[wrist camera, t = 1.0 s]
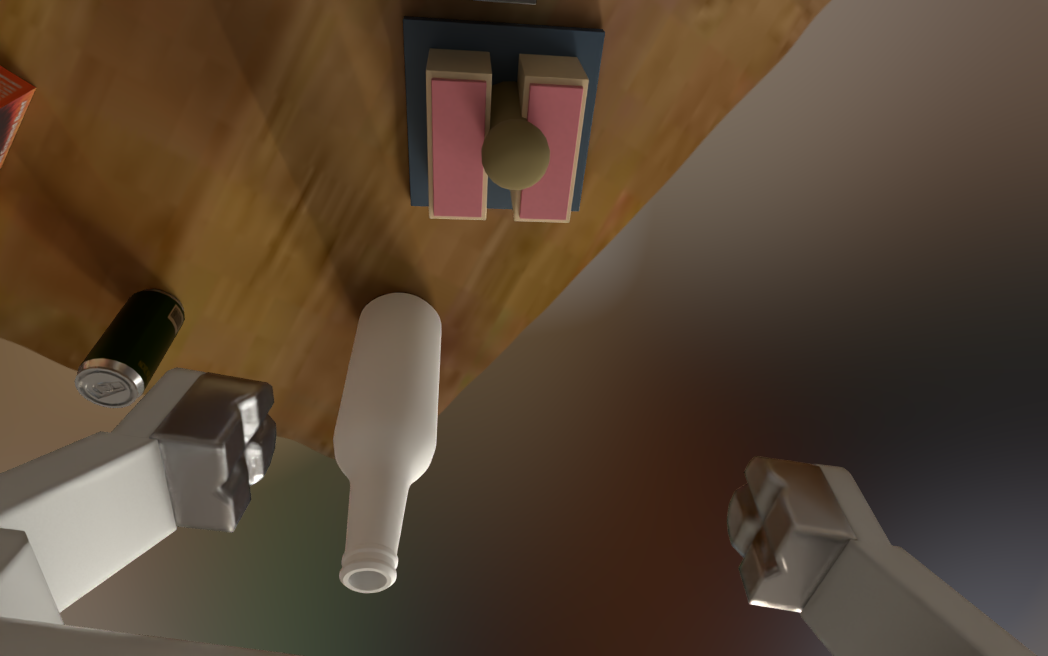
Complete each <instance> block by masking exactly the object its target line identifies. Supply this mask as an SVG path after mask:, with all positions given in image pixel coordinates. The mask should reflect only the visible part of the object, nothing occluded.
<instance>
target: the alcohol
mask: <svg viewBox="0 0 1048 656" xmlns="http://www.w3.org/2000/svg"><path fill="white" fill-rule="evenodd" d="M440 349H441V321H440V317H439V316H438V314H437V312H436V311H435V310H434V308H433V307H432V306H431V305H429V304H428V303H427V302H426V301H424V300H423V299H421V298H419V297H417V296H415V295H412V294H407V293H390V294H386V295H383V296H380V297H378V298H376V299H374V300H372V301H371V302H370V303H368V304H367V305H366V306H365V308H364V309H363V310H362V312H361V315H360V318H359V322H358V327H357V331H356V336H355V341H354V345H353V350H352V354H351V359H350V363H349V368H348V373H347V377H346V382H345V386H344V391H343V396H342V400H341V405H340V409H339V414H338V418H337V423H336V428H335V432H334V439H333V442H334V451H335V458H336V462H337V463H338V466H339V467H340V469H341V470H342V472H343V473H344V474H345V475H346V477H347V478H348V479H349V480H350V497H349V509H348V522H347V535H346V548H345V553H344V554H343V556H342V562H341V563H342V569H341V570H340V574H339V577H340V581H341V582H342V583H343V584H344V585H345V586H346V587H348V588H349V589H351V590H353V591H357V592H361V593H374V592H379V591H382V590H384V589H386V588H388V587H389V586H391V585H392V584H393V583H394V582H395V580H396V575H397V574H396V570H395V569H396V568H397V564H398V557H397V550H398V544H399V538H400V533H401V528H402V522H403V516H404V511H405V505H406V500H407V494H408V489H409V487H410V485H411V484H412V483H413V482H414V481H416V480H417V479H418V478H419V477H420V476H421V475H422V474H423V473H424V472H425V471H426V470H427V468H428V467H429V465H430V462H431V460H432V457H433V454H434V451H435V447H436V436H437V414H438V392H439V370H440Z"/></svg>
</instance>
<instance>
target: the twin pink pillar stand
mask: <svg viewBox="0 0 1048 656" xmlns="http://www.w3.org/2000/svg"><path fill="white" fill-rule="evenodd" d="M403 32H404V55H405V79H406V102H407V125H408V149H409V172H410V195H411V206H429V218H440V219H472V220H486V208H494V209H513V216H514V221H533V222H564V223H569V221H570V213H571V211H579V207H580V200H581V193H582V186H583V180H584V173H585V166H586V159H587V152H588V145H589V139H590V132H591V125H592V118H593V111H594V104H595V98H596V91H597V84H598V77H599V70H600V63H601V57H602V50H603V43H604V36H605V32H604V30H603V29H591V28H575V27H560V26H545V25H530V24H515V23H500V22H485V21H469V20H454V19H439V18H424V17H409V16H404V18H403ZM503 81H515V82H517V84H518V92H519V99H520V107H521V115H522V117H523V118H526V119H527V121H528V122H530V123H532V124H533V125H535V126H536V127H537V128H539V129H540V130H541V131H542V133H543V134H544V136H545V137H546V139H547V142H548V146H549V149H550V162H549V165H548V167H547V170H546V173H545V174H544V175H543V177H542V178H541V179H540V181H538V182H537V183H536V184H534V185H533V186H531V187H529V188H526V189H522V190H509V189H505V188H502V187H500V186H498V185H497V184H495V183H494V182H493V181H492V180H491V179H490V178H489V176H488V175H487V174H486V172H485V170H484V167H483V165H482V156H481V149H482V145H483V142H484V139H485V137H486V136H487V135H488V132H489V130H490V113H491V89H492V86H493V85H495V84H498V83H501V82H503Z"/></svg>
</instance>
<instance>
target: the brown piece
mask: <svg viewBox="0 0 1048 656" xmlns="http://www.w3.org/2000/svg"><path fill="white" fill-rule="evenodd" d="M481 156H482V165H483V167H484V170H485V172H486V174H487V175H488V176H489V178H490V179H491V180H492V181H493V182H494V183H495V184H497V185H498V186H500V187H502V188H505V189H509V190H522V189H526V188H529V187H531V186H533V185H534V184H536V183H537V182H538V181H540V179H541V178H542V177H543V175H544V174H545V173H546V170H547V167H548V165H549V162H550V149H549V146H548V142H547V139H546V137H545V136H544V134H543V133H542V131H541V130H540V129H539V128H537V127H536V126H535V125H533V124H532V123H530V122H528V121H527V119H526V118H523V117H522V115H521V107H520V99H519V92H518V84H517V82H515V81H503V82H501V83H498V84H495V85H493V86H492V89H491V113H490V130H489V132H488V135H487V136H486V137H485V139H484V142H483V145H482V149H481Z"/></svg>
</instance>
